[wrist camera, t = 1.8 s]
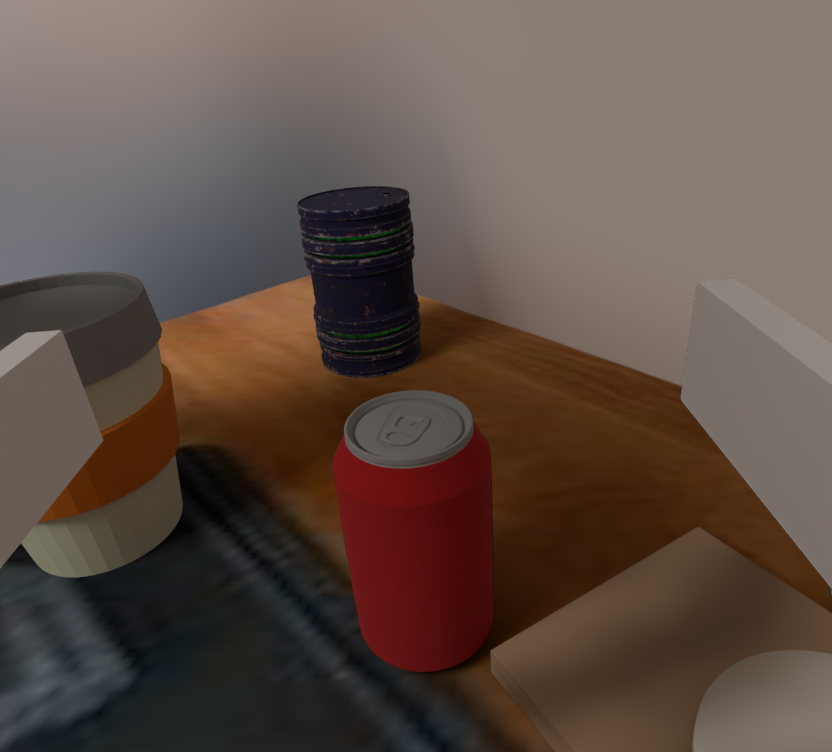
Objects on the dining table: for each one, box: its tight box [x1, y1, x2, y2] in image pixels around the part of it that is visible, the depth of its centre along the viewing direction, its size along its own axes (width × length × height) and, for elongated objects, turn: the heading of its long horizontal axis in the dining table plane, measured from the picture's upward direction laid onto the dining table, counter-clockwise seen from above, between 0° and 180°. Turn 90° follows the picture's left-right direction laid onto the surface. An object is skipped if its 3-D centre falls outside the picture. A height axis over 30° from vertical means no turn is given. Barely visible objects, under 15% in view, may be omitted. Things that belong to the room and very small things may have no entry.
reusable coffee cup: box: [0, 272, 183, 577], centre depth 36 cm, size 13×13×15 cm
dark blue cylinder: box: [297, 186, 421, 377], centre depth 56 cm, size 10×10×15 cm
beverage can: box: [333, 390, 494, 672], centre depth 28 cm, size 7×7×12 cm
